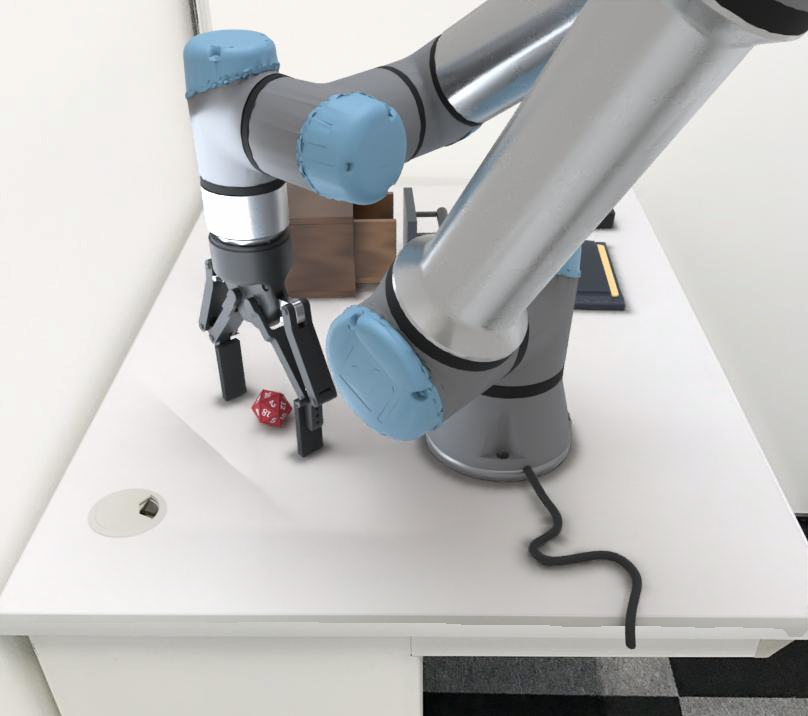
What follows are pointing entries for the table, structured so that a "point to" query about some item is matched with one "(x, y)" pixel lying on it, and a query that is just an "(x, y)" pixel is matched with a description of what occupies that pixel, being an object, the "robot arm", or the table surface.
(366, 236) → the drawer
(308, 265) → the brown wooden box
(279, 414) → the dice
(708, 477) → the table surface
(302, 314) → the robot arm
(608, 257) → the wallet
